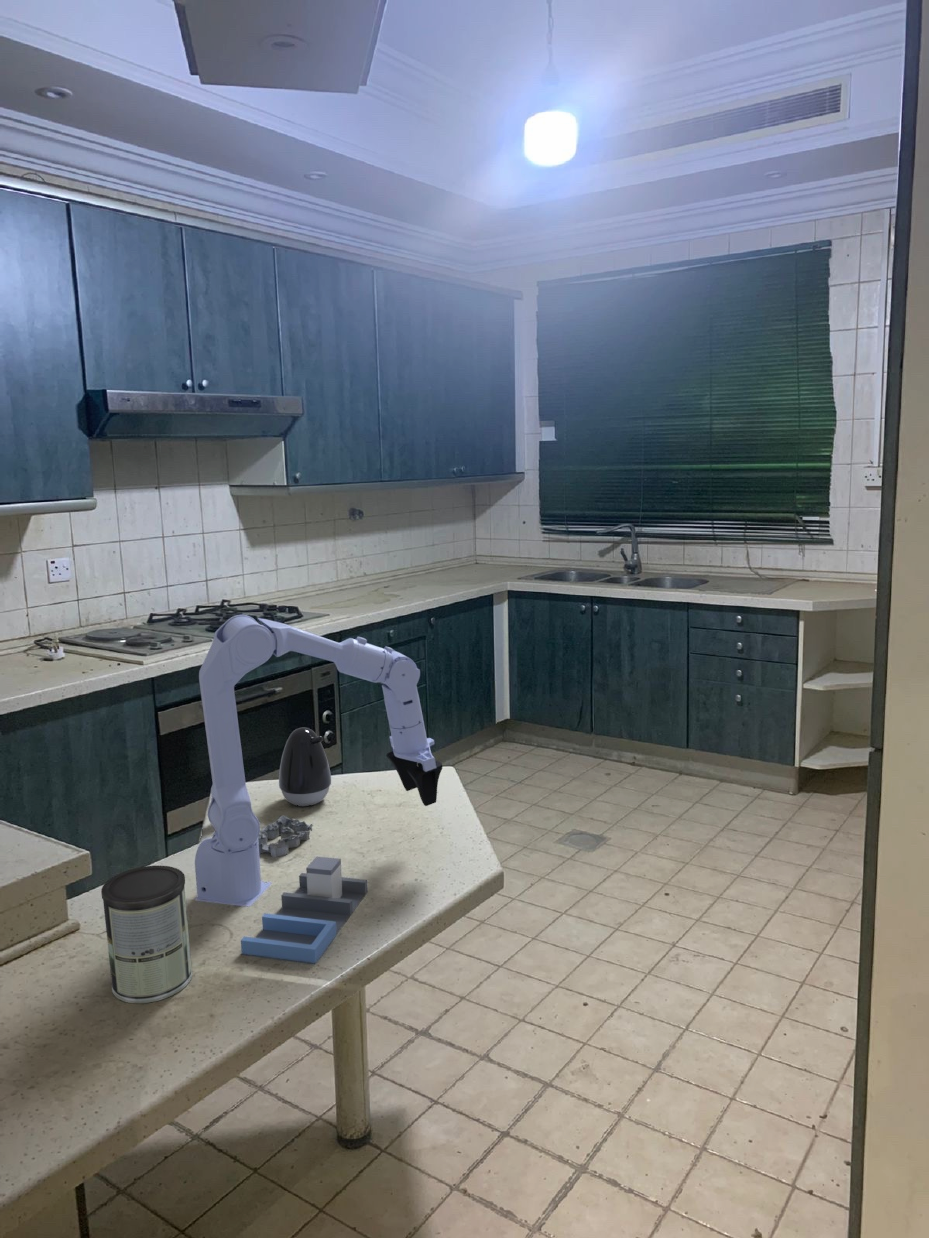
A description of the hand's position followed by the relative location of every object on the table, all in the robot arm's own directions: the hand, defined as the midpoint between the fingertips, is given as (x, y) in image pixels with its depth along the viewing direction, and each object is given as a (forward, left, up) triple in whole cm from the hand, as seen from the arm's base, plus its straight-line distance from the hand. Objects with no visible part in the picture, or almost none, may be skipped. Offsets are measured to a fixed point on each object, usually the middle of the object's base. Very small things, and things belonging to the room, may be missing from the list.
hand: (420, 795), depth 156 cm
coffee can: (-24, -44, -11) cm, 51 cm away
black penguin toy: (-29, +18, -11) cm, 36 cm away
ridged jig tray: (-10, -26, -11) cm, 30 cm away
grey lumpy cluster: (-25, -2, -11) cm, 28 cm away
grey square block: (-10, -20, -10) cm, 24 cm away
